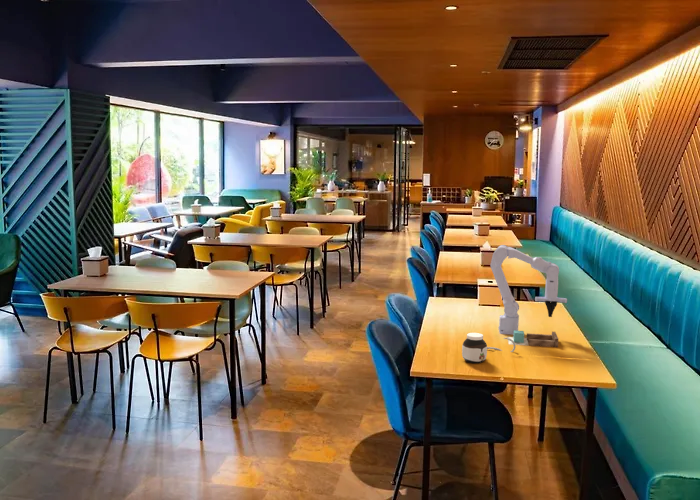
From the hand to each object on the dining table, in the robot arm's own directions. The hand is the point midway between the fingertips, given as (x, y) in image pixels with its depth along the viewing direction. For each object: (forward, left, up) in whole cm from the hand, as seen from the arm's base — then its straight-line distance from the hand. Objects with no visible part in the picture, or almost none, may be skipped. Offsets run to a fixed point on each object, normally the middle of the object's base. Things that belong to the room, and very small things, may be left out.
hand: (550, 316), depth 302 cm
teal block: (-15, -12, -10) cm, 22 cm away
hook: (-27, -27, -11) cm, 40 cm away
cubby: (-9, -12, -10) cm, 18 cm away
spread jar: (-36, -42, -11) cm, 56 cm away
